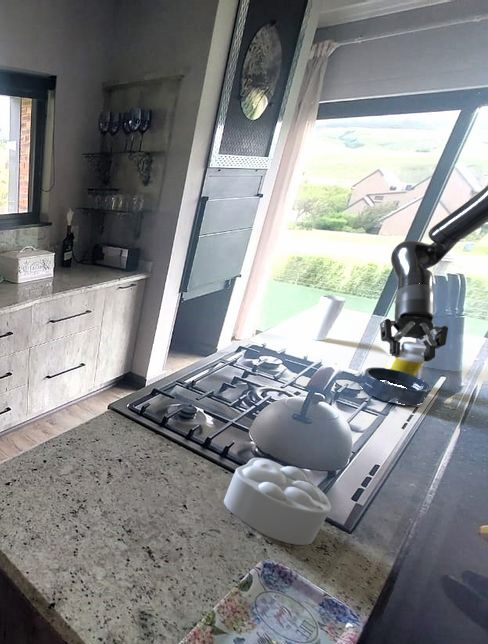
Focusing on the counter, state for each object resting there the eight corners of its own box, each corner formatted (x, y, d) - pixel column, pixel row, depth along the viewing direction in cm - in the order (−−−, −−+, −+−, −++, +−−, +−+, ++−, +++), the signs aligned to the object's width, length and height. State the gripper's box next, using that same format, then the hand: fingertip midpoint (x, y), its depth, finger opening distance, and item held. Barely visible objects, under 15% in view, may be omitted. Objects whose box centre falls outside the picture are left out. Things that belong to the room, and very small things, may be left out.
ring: (428, 398, 107) (438, 382, 105) (413, 413, 101) (424, 396, 98) (366, 378, 117) (374, 363, 115) (349, 390, 110) (357, 374, 108)
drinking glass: (307, 340, 142) (325, 299, 135) (302, 333, 148) (318, 293, 141) (330, 343, 140) (349, 301, 133) (323, 336, 146) (341, 296, 139)
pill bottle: (412, 389, 112) (434, 351, 106) (381, 383, 115) (402, 345, 109) (406, 380, 116) (427, 343, 111) (377, 374, 119) (396, 338, 114)
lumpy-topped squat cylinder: (247, 482, 77) (262, 446, 73) (325, 528, 68) (348, 490, 64) (216, 503, 72) (231, 466, 68) (296, 557, 63) (319, 517, 59)
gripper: (390, 294, 113) (387, 348, 109) (457, 301, 108) (457, 358, 104) (374, 306, 120) (371, 358, 116) (436, 314, 115) (435, 367, 111)
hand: (411, 357), depth 110 cm, fingers closed on pill bottle, 6 cm apart
